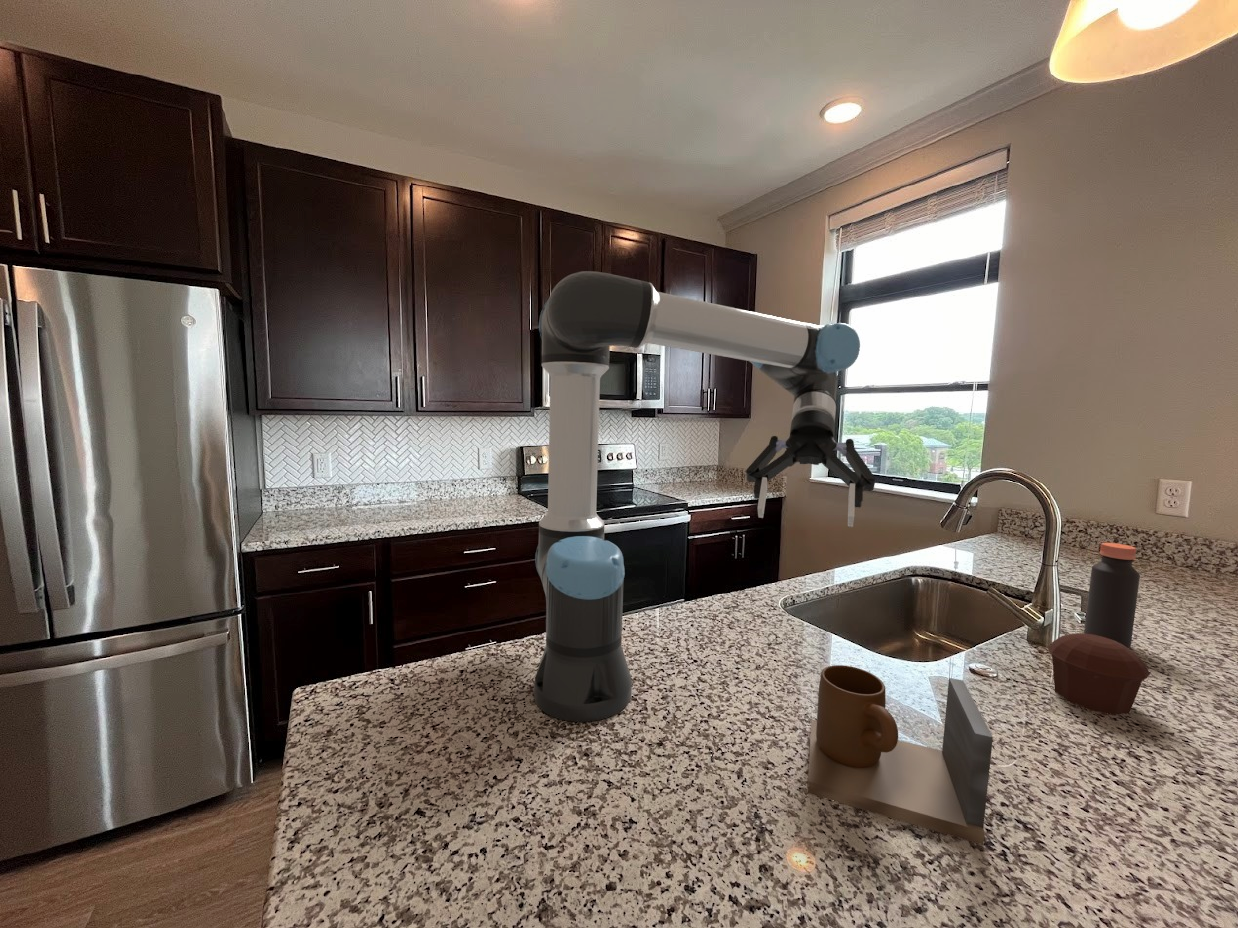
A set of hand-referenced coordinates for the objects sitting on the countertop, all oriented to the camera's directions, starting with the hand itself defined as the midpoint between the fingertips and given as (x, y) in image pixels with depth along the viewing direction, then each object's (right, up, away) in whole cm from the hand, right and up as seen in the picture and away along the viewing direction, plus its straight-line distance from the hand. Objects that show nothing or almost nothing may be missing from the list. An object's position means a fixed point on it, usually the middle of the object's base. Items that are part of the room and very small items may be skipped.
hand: (804, 517), depth 79 cm
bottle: (+69, -28, +21) cm, 77 cm away
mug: (0, -28, -18) cm, 34 cm away
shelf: (+3, -30, -19) cm, 35 cm away
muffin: (+46, -29, 0) cm, 54 cm away
